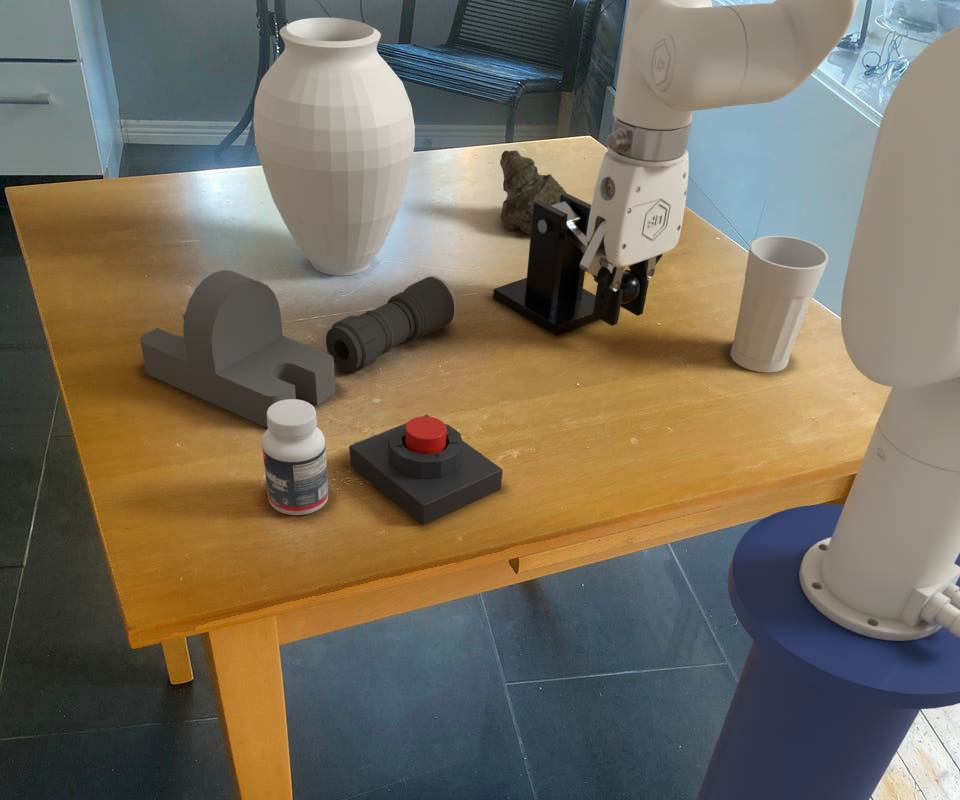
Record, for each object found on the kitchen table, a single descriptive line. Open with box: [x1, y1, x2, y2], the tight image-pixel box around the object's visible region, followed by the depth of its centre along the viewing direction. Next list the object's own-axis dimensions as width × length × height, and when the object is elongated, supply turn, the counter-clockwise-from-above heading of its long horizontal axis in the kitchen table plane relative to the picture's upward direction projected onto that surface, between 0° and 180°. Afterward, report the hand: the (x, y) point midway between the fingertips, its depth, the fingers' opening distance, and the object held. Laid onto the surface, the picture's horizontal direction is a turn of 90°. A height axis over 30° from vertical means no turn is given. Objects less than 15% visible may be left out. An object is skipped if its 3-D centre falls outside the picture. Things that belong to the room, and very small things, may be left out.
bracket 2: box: [492, 192, 601, 337], centre depth 111 cm, size 11×9×12 cm
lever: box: [551, 202, 640, 303], centre depth 107 cm, size 14×3×3 cm, turn 40°
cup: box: [730, 235, 829, 373], centre depth 105 cm, size 8×8×12 cm
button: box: [405, 415, 446, 454], centre depth 87 cm, size 4×4×2 cm
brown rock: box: [499, 149, 567, 235], centre depth 128 cm, size 11×12×10 cm
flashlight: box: [325, 275, 458, 372], centre depth 104 cm, size 15×5×5 cm, turn 141°
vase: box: [253, 17, 416, 277], centre depth 111 cm, size 18×18×25 cm
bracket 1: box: [139, 269, 336, 429], centre depth 96 cm, size 10×18×11 cm, turn 57°
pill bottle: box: [261, 398, 329, 516], centre depth 83 cm, size 5×5×9 cm
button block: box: [348, 414, 504, 526], centre depth 88 cm, size 11×9×4 cm
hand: (617, 313), depth 108 cm, fingers closed on lever, 3 cm apart
